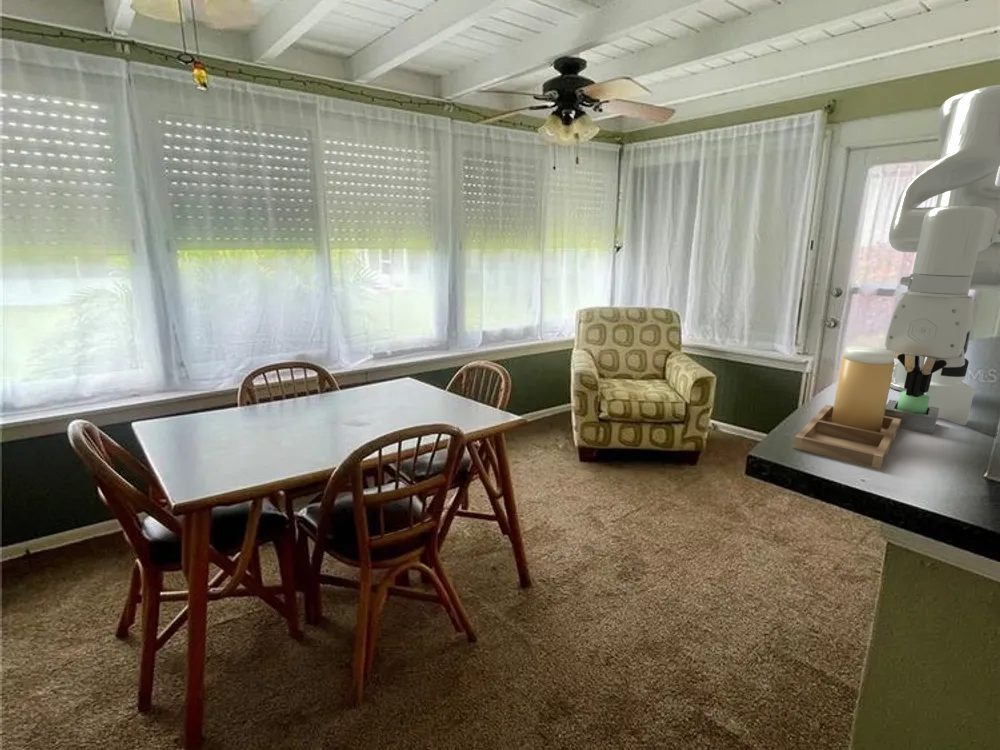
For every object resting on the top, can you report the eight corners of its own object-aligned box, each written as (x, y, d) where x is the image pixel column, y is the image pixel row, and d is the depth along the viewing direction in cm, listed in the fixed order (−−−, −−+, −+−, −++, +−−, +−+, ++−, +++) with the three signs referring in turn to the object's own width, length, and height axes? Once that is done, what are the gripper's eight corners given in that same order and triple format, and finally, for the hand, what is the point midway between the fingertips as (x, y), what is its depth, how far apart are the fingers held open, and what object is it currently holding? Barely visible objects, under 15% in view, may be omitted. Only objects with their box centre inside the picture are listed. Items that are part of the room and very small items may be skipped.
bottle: (821, 422, 91) (834, 345, 87) (860, 421, 91) (874, 345, 88) (848, 437, 84) (864, 355, 81) (890, 436, 84) (908, 354, 81)
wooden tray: (823, 420, 95) (826, 404, 95) (897, 435, 88) (901, 419, 87) (792, 454, 80) (794, 436, 80) (878, 476, 73) (882, 456, 72)
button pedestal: (885, 420, 96) (889, 399, 94) (934, 429, 91) (939, 408, 90) (879, 430, 90) (884, 408, 89) (930, 441, 86) (936, 418, 85)
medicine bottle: (945, 413, 99) (960, 352, 96) (966, 426, 93) (983, 360, 90) (902, 410, 101) (915, 349, 98) (919, 422, 95) (934, 358, 91)
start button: (897, 411, 93) (901, 389, 92) (925, 416, 90) (930, 394, 89) (894, 416, 90) (898, 394, 89) (923, 422, 87) (928, 399, 86)
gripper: (876, 283, 88) (856, 387, 93) (992, 291, 76) (962, 410, 81) (895, 281, 92) (875, 381, 97) (1007, 289, 80) (978, 402, 85)
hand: (914, 394), depth 89 cm, fingers closed
